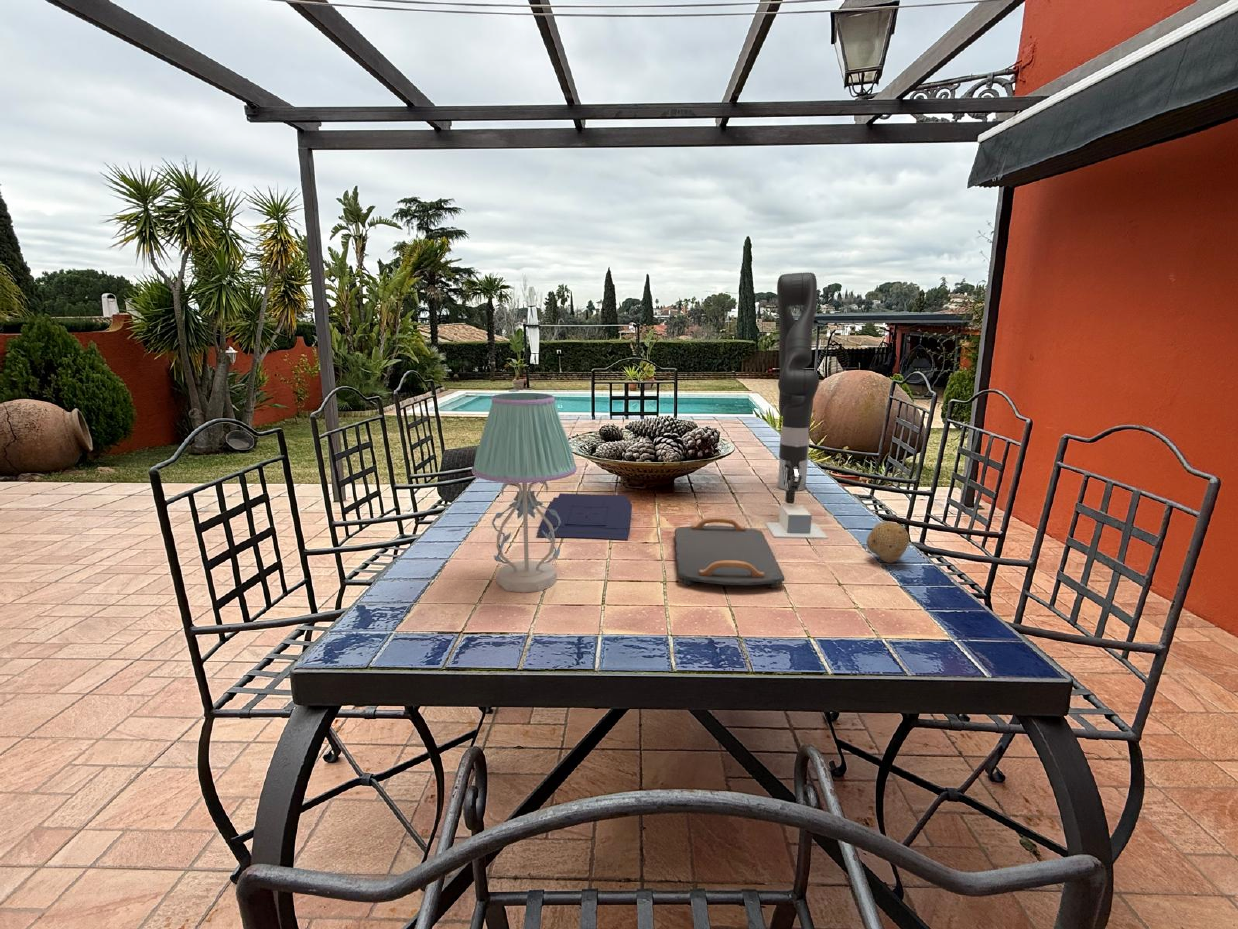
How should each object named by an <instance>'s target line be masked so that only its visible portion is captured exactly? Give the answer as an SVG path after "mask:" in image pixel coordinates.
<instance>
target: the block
mask: <svg viewBox="0 0 1238 929" xmlns="http://www.w3.org/2000/svg"><path fill="white" fill-rule="evenodd" d="M779 506H780V507H779V516H778V517H779V518H778V522H780V524H781V525H782V526H783V528H784V529H785V530H786V532H787V533H810V530H811V523H812V516H813V515H812V514H811V513H810V512H809V511H808V510H807V508H805V507H804V505H803V504H779Z"/></svg>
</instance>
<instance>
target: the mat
mask: <svg viewBox="0 0 1238 929" xmlns="http://www.w3.org/2000/svg"><path fill="white" fill-rule="evenodd" d="M764 525H766V528H768V530H769V532H770V533H771V536H772V537H773V538H774V537H775V539H777V538H778V539H779V538H780V539H781V538H783V539H819V540H820V539H823V540H826V539H828V538H829V537H828V536H827V535H826V534H825V532H824V531H823V530H822V529H821V528H820V527H819V526H818V525H817V523H815V522H811V530H810V533H787V532H786V530H785V529H784V528H783V526H782V525H781V524H780V522H779V521H778V522H777V521H776V522H772V521H771V522H769V521H765V522H764Z"/></svg>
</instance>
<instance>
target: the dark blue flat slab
mask: <svg viewBox="0 0 1238 929" xmlns="http://www.w3.org/2000/svg"><path fill="white" fill-rule="evenodd" d="M631 500H632V499H628V495H627V494H626V495H625V494H589V493H588V494H587V493H583V494H582V493H563V492H562V493H561V492H559V494H558V496H557V497H553V498H552V500H551V501H550V502H549V504H548V505H547V507H546V508H548V509H553V510H555V511H556V512H557V514H558V516H559V517H560V521H561V523H560V525H559V527H558V528H557V530H556V531H554V536H555V538H584V539H585V538H587V539H605V540H621V541H622V540H625V541H627V540H629V537H630V536H629V535H630V532H631V522H632V511H633V503H631V502H632V501H631ZM543 514H544V516H545V517H546V518H547V519H548V520H549V522H550V523H551V524H552V526H553V530H554V529H555V528H556V527H557V525H558V523H559V521H558V518H557V517H556V516H554V515H552V514H551V513H550V511H549V510H547V509H545V513H543ZM542 530H543V531H544V532H545V533H547V534H548V535H549V532H550V529H549V526H548V524H547V523H546V522H545V520H544V519H543V518H542V519H541V521H540V524H539V527H538V530H537V534H536V538H546V537H545V535H544V534H543V532H542ZM550 537H551V533H550Z"/></svg>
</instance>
